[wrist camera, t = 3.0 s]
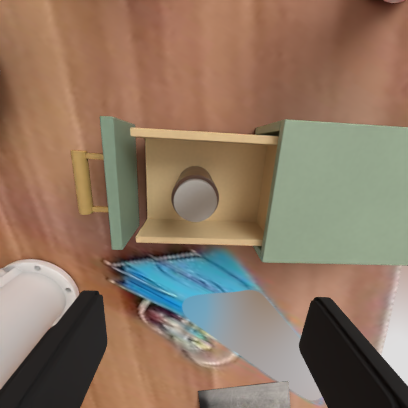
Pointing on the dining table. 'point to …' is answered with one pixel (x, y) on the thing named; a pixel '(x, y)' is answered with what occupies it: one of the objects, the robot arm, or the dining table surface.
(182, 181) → the pepper mill
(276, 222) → the cabinet
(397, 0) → the liquor
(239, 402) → the meat cleaver
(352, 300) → the dining table surface
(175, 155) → the drawer
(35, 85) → the dining table surface
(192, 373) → the dining table surface
